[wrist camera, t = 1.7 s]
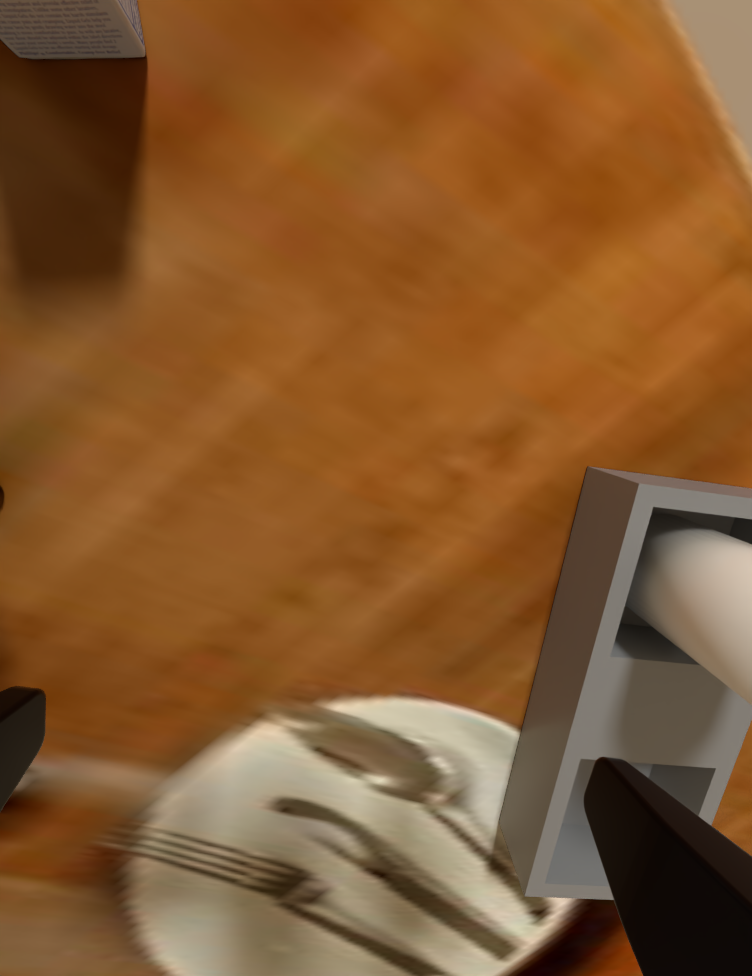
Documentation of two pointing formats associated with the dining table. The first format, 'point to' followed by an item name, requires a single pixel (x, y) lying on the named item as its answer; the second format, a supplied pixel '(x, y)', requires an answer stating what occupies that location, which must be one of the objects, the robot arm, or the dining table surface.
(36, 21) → the medicine box
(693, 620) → the white stepped cylinder
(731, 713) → the caddy
